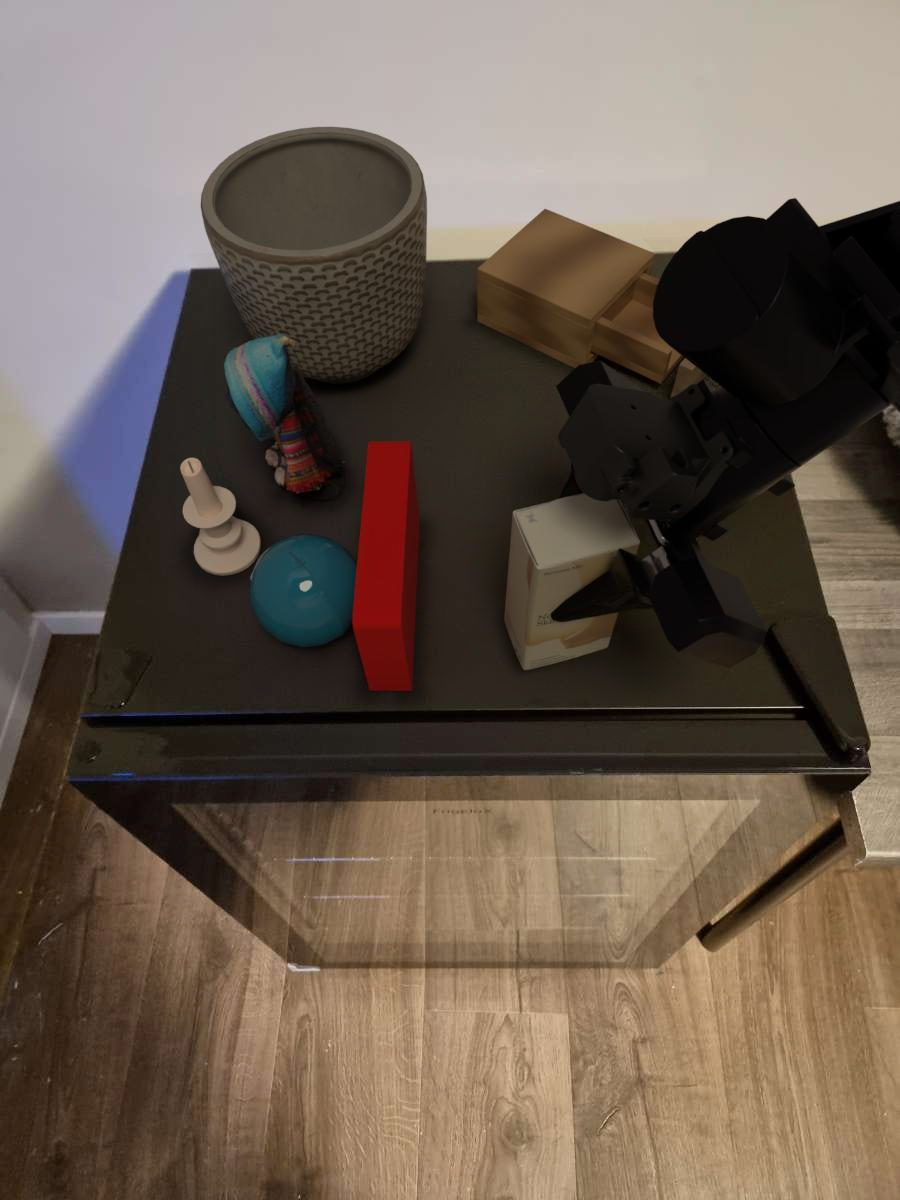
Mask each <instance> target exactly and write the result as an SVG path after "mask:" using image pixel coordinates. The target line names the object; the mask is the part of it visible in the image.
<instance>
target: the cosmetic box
mask: <svg viewBox="0 0 900 1200" xmlns="http://www.w3.org/2000/svg"><path fill="white" fill-rule="evenodd" d="M511 516H512V517H511V529H510V530H511V531H510V542H509V555H508V565H507V566H508V567H507V578H506V579H507V580H506V591H505V602H504V603H505V604H504V615H503V621H504V624H505V627H506V630H507V633H508V636H509V639H510V641H511V644H512V647H513V649H514V652H515V654H516V657H517V659H518V661H519V663H520V666H521V668H522V670H523V671H529V670H534V669H538V668H542V667H546V666H550V665H553V664H557V663H560V662H565V661H568V660H572V659H576V658H579V657H582V656H585V655H588V654H592V653H595V652H598V651H601V650H605V649H607V648H608V647H609V645H610V642H611V638H612V635H613V631H614V628H615V625H616V622H617V619H618V615H619V612H617V613H612V614H606V615H601V616H595V617H590V618H584V619H579V620H573V621H568V622H558V621H554V620H552V618H551V615H550V614H551V613H552V612H553V611H554V610H555V609H556V608H557V607H558V606H559V605H560V604H561V603H562V602H564V601H565V600H566V599H567V598H569V597H570V596H572V595H573V594H575V593H576V592H578V591H579V590H581V589H582V588H584V587H585V586H586V585H588V584H589V583H591V582H592V581H594V580H595V579H597V578H598V577H600V576H601V575H603V574H604V573H606V572H607V571H609V570H610V569H611V568H612V566H613V563H614V560H615V557H616V554H617V551H618V549H620V548H621V549H623V550H626V551H628V552H630V553H632V554H635V555H637V554H638V550H639V547H640V544H641V540H640V538H639V536H638V534H637V532H636V529H635V527H634V524H633V523H632V520H631V518H630V517H629V515H628V513H627V510H626V509H625V508H624V506H623V504H622V502H621V500H618V499H612V500H610V501H598V500H594V499H592V498H590V497H588V496H587V495H586V494H584V493H583V494H579V495H574V496H569V497H564V498H560V499H558V498H557V499H554V500H551V501H547V502H543V503H540V504H535V505H531V506H528V507H527V506H526V507H523V508H519V509H514V510H513V511H512V515H511Z"/></svg>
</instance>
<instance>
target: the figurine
mask: <svg viewBox="0 0 900 1200" xmlns="http://www.w3.org/2000/svg"><path fill="white" fill-rule="evenodd" d="M288 347H293V348H294V347H297V346H296V343H295V340H292V339H290V338H288V337H286V336H285V335H282V334H278V335H275V336H271V337H261V338H258V339H255V340H253V339H252V340H249V341H247V342H245V343H242V344H241V345H239V346H235V347H234V348H232V349H231V350H230V351H229V352H228V353H227V355H226V357H225V360H224V362H223V368H224V369H223V370H224V375H225V379H226V386H227V388H226V389H227V392H226V394H224V395H225V397H226V399H227V401H228V404H229V408H231V409H233V410H234V412H235V413H236V414H237V417H238V418H239V419H240V421H241V422H242V424H243V425H244V427H245V429H248V430H249V429H250V430H251V433H252V434H253V435H254V436H255V438H256V439H257V440H258V441H259V442H263V441H265V440H267V439H270V438H273V439H274V440H275V441H274V444H273V445H272V446H270V447H268V448H267V450H266V451H265V457H264V458H265V460H266V462H267V464H268V467H270V468H273V469H275V472H274V480H275V482H276V484H277V486H278V487H280V488H282V489H286V490H287V491H288V492H290V493H296V494H297V495H298V494H301V497H303V498H308V497H310V498H311V499H313V500H315V501H319V502H328V501H336V500H339V499H341V498H342V496H343V495H344V494H345V476H344V475H345V473H346V472H345V469H344V467H343V463H345V461H342V460H341V458H340V456H339V453H338V450H337V448H336V447H335V445H334V444H335V443H334V440H333V439H332V436H331V433H330V431H329V427H328V423H327V420H326V418H325V415H324V413H323V411H322V409H321V407H320V404H319V402H318V401H317V399H316V397H315V394H314V393H313V390H312V388H311V387H310V385H309V384H308V383H307V381H306V379H305V377H303V375H302V373H301V371H300V369H299V368H298V367H297V366H294V368H293V369H292V366H291V362H290V358H289V354H288V352H287V348H288Z"/></svg>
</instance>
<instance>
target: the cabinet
mask: <svg viewBox="0 0 900 1200" xmlns="http://www.w3.org/2000/svg"><path fill="white" fill-rule="evenodd" d="M655 255H656V253H655V252H652V251H650V250H648V249H645V248H643V247H640V246H637V245H635V244H633V243H631V242H628V241H626V240H624V239H622V238H621V239H620V238H618V237H615V236H613V235H611V234H608V233H606V232H604V231H601V230H599V229H596V228H594V227H591V226H589V225H587V224H584V223H582V222H580V221H577V220H574V219H572V218H570V217H567V216H565V215H562V214H560V213H557V212H554V211H553V210H549V209H547V208H544V209H542V210H541V211H540V212H539V213H538V214H537V215H536V216H535V217H534V218H532V219H531V220H530V221H529V222H527V224H526V225H525V226H523V227H522V228H521V229H520V230H519V231H518V232H517V233H516V234H515V235H513V236H512V237H511V238H510V239H509V240H508V241H506V243H504V244H503V246H501V247H500V248H499V249H498V250H497V251H495V253H493V254H491V256H490V257H488V258H487V259H486V261H484V262H483V263H481V265H480V266H478V267H477V277H476V281H477V283H476V284H477V285H476V286H477V289H476V290H477V291H476V292H477V293H476V299H477V300H476V302H477V304H476V305H477V306H476V307H477V310H476V312H477V315H476V317H477V319H476V320H477V323H479V324H482V325H484V326H486V327H488V328H490V329H492V330H494V331H496V332H498V333H500V334H503V335H504V336H507V337H509V338H511V339H513V340H515V341H517V342H519V343H522V344H523V345H525V346H526V347H527V346H528V347H530V348H531V349H533V350H536V351H538V352H539V353H541V354H545V355H546V356H548V357H550V358H553V359H555V360H557V361H558V362H561V363H562V364H565V365H567V366H569V367H571V368H573V369H575V368H576V367H577V366H578V365H581V364H586V363H591V362H595V360H596V359H597V358H598V357H599V356H600V355H598V354H596V353H594V352H592V351H591V344H592V338H593V331H594V325H595V322H596V320H597V319H598V318H599V317H600V316H601V315H602V314H603V313H604V312H605V311H606V310H607V309H608V308H609V307H610V306H611V305H612V304H613V303H614V302H615V301H616V300H617V299H618V298H619V297H620V296H621V295H622V294H623V293H624V291H625V290H626V289H627V288H628V287H629V286H630V285H631V284H632V283H633V282H634V281H635V280H636V279H637V278H638V277H639V276H640V275H641V274H642V273H645V274H648V275H650V276H652V270H653V264H654V260H655Z"/></svg>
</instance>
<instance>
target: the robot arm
mask: <svg viewBox="0 0 900 1200" xmlns="http://www.w3.org/2000/svg"><path fill="white" fill-rule="evenodd" d="M659 279H660V280H659V283H658V285H657V288H656V292H655V296H654V300H653V319H654V324H655V328H656V330H657V332H658V334H659V336H660V337H661V338H662V339H663V340H664V341H665V342H666V343H667V344H668V345H669V346H670V347H672V348H673V349H674V350H676V351H677V352H678V353H679V354H681V355H682V356H683V358H684V359H685V358H686V359H687V360H688V361H690V362H691V363H692V364H693V365H695V366H696V367H697V368H699V369H700V370H701V371H702V372H704V373H705V374H706V376H707V377H709V378H710V379H711V380H712V381H714V382H715V383H716V384H717V385H719V386H717V387H716V388H715V387H714V386H713V385H711V384H710V383H709V382H707V381H706V380H705V379H702V380H701V381H700V382H699V383H697V384H692V385H690V386H688V387H687V388H686V389H684V390H683V391H682V392H681V393H680V394H678V395H676V396H674V397H672V398H670V397H669V398H662V397H660V396H658V395H657V394H654V393H652V392H648V391H645V390H643V388H641V387H639V386H638V385H636V384H635V383H634V382H633V381H631V380H629V378H627V377H625V376H623V375H622V374H621V373H620V372H618V371H616V370H614V369H613V368H612V367H610V366H609V365H607V364H606V363H605V362H603V361H602V360H597V361H593V362H591V363H586V364H581V365H578V366H577V367H576V368H573V370H572V371H570V372H569V373H568V374H567V375H566V376H565V377H564V378H563V379H562V380H561V381H560V382H559V383H558V384H556V385H555V387H556V389H557V392H558V395H559V397H560V399H561V401H562V404H563V405H564V408H565V410H566V412H567V416H568V418H567V420H566V421H565V423H564V425H563V426H562V428H561V429H560V430H559V432H558V435H557V438H558V442H559V444H560V446H561V448H562V449H565V451H566V453H567V455H568V458H569V460H570V473H569V476H568V478H567V480H566V481H565V484H564V486H563V489H562V490H561V493H560V495H558V498H557V499H560V498H564V497H569V496H574V495H579V494H583V493H584V494H586V495H587V496H588V497H590V498H592V499H594V500H598V501H610V500H612V499H618V500H621V502H622V504H623V506H624V508H625V510H626V513H627V514H628V517H629V519H635V520H644V521H645V522H646V525H647V528H648V529H649V531H650V533H651V536H652V538H653V540H654V542H655V544H656V547H657V548H656V549H655V550H653V551H652V552H651V553H649V554H647V556H644V557H641V556H639V555H637V554H636V555H635V554H632V553H630V552H628V551H626V550H623V549H621V548H620V549H618V551H617V554H616V557H615V560H614V563H613V566H612V568H611V569H610V570H609V571H607V572H606V573H604V574H603V575H601V576H600V577H598V578H597V579H595V580H594V581H592V582H591V583H589V584H588V585H586V586H585V587H584V588H582V589H581V590H579V591H578V592H576V593H575V594H573V595H572V596H570V597H569V598H567V599H566V600H565V601H564V602H562V603H561V604H560V605H559V606H558V607H557V608H556V609H555V610H554V611H553V612H552V613H551V614H550V615H551V618H552V620H554V621H558V622H568V621H573V620H579V619H584V618H590V617H595V616H601V615H606V614H612V613H617V612H618V613H622V612H628V611H635V610H636V611H637V610H650V609H651V610H652V609H653V610H654V613H655V615H656V616H657V619H658V622H659V625H660V626H661V629H662V631H663V633H664V635H665V638H666V640H667V642H668V643H669V644H670V645H671V646H672V648H674V649H675V651H677V653H679V654H682V655H685V656H688V657H692V658H695V659H699V660H701V661H705V662H707V663H711V664H715V665H717V666H721V667H724V668H727V669H730V668H732V667H734V666H736V665H738V664H739V663H741V662H743V661H745V660H747V659H748V658H750V657H752V656H754V655H756V654H757V652H758V651H759V649H760V647H762V643H763V642H764V640H765V638H766V636H767V633H768V630H767V628H766V626H765V624H764V622H763V620H762V618H761V616H760V614H759V612H758V611H757V608H756V607H755V605H754V602H753V601H752V599H751V597H750V594H749V593H748V591H747V589H746V586H745V585H744V584H743V582H742V580H741V577H739V576H737V575H735V574H733V573H731V572H728V571H727V570H724V569H722V568H720V567H718V566H716V565H714V564H712V563H710V562H708V561H707V558H706V557H705V555H704V552H703V551H702V549H701V547H700V545H699V543H698V540H697V539H698V538H699V537H700V536H702V537H704V538H705V539H708V540H710V541H712V542H714V541H716V540H718V539H719V538H721V537H722V536H723V535H725V534H726V533H728V532H729V529H728V527H727V525H726V523H725V521H724V520H726V519H727V518H728V517H730V516H731V515H733V514H734V513H735V512H737V511H738V510H740V509H741V508H743V507H745V506H746V505H747V504H749V503H751V502H752V501H753V500H755V499H756V498H758V497H759V496H760V495H762V494H763V493H765V492H766V491H768V492H769V493H771V494H773V495H774V496H776V497H778V498H780V497H781V496H783V495H784V494H786V493H787V492H789V491H790V490H792V489H794V488H795V487H796V484H795V482H794V481H793V479H792V477H791V476H790V475H791V474H792V473H794V472H795V471H797V470H798V469H800V468H801V467H802V466H804V465H805V464H807V463H808V462H810V461H812V460H813V459H814V458H815V457H817V456H818V455H820V454H822V453H823V452H825V451H826V450H827V449H829V448H830V447H831V446H833V445H834V444H836V443H837V442H839V441H840V440H842V439H843V438H845V437H846V436H848V435H849V434H851V433H852V432H853V431H855V430H856V429H858V428H859V427H861V426H862V425H864V424H865V423H866V422H868V421H869V420H871V419H872V418H874V417H875V416H877V415H878V414H880V413H882V412H883V411H884V410H886V409H887V408H889V407H890V406H892V407H893V408H894V409H895V410H896V411H897V412H898V413H899V414H900V200H898V201H895V202H891V203H889V204H885V205H883V206H882V205H881V206H879V207H876V208H872V209H870V210H866V211H864V212H860V213H857V214H854V215H851V216H847V217H845V218H841V219H838V220H835V221H832V222H828V223H826V224H823V225H820V226H819V225H818V224H817V222H816V221H815V220H814V219H813V217H812V216H811V215H810V214H809V213H808V211H807V210H806V209H805V207H804V206H803V204H801V202H800V201H799V200H798V199H797V198H796V197H793V198H789V199H787V200H786V201H784V203H783V204H781V206H779V207H778V208H777V209H776V210H775V211H774V212H772V213H771V214H770V215H769V216H768V217H767V218H763V217H758V216H751V215H745V216H738V217H731V218H729V219H726V220H724V221H720V222H718V223H715V224H714V225H713V226H710V227H709V228H708V229H705V230H698V231H696V232H695V233H694V234H693V235H692V236H691V237H689V239H687V240H686V241H685V242H684V243H683V244H682V245H681V247H679V249H678V250H677V251H676V252H675V253H674V254H673V255H672V257H671V259H670V260H669V262H668V263H667V265H666V267H665V268H664V270H663V272H662V273H661V276H660V278H659Z"/></svg>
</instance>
